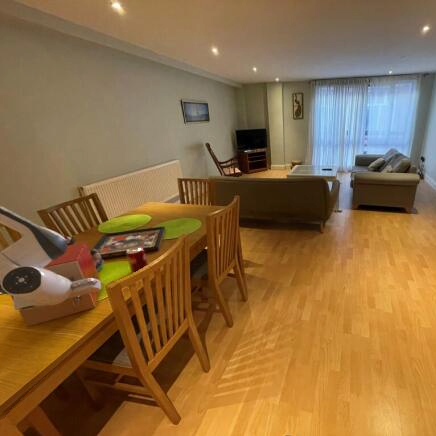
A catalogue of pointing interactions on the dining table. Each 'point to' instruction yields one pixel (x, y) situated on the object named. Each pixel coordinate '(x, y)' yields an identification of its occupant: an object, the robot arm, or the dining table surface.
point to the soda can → (136, 258)
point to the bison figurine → (97, 259)
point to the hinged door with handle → (63, 308)
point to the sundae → (69, 240)
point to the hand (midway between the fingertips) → (71, 296)
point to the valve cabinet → (80, 263)
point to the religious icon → (129, 241)
